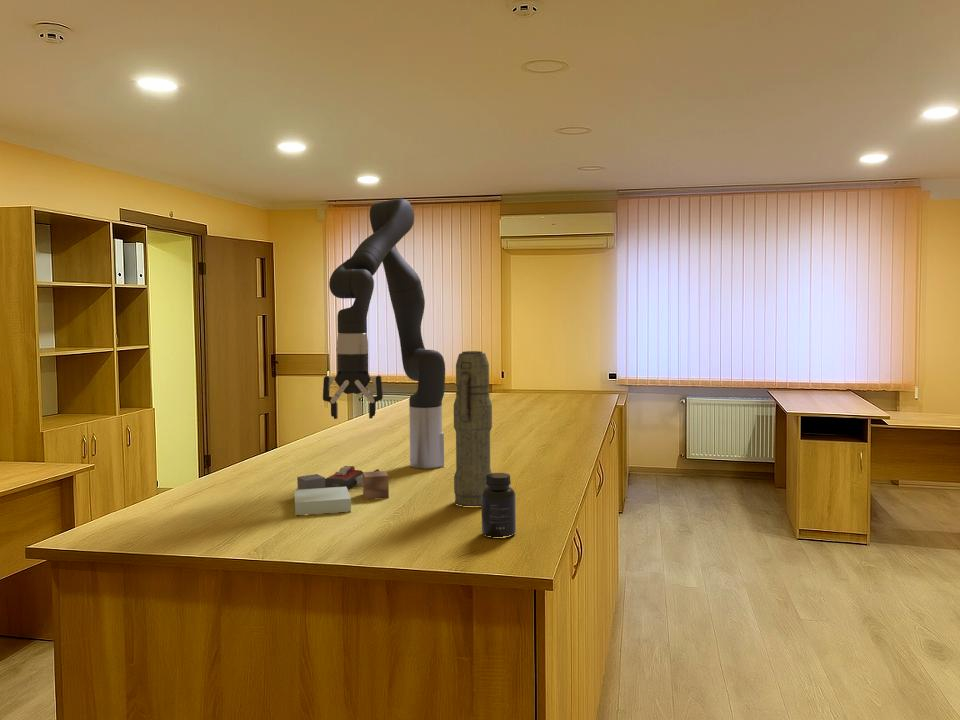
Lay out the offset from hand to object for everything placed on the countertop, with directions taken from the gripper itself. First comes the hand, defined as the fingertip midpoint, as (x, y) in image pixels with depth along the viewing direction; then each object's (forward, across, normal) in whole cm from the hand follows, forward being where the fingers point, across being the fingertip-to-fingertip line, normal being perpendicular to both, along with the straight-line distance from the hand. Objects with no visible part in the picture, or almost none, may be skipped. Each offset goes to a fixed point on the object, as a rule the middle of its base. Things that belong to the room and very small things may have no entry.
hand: (353, 418), depth 187 cm
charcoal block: (+19, +10, +4) cm, 21 cm away
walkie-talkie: (+19, +2, -12) cm, 22 cm away
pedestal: (+18, +6, +13) cm, 23 cm away
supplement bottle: (+19, -32, +37) cm, 53 cm away
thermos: (+18, -29, +13) cm, 36 cm away
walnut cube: (+18, -6, +4) cm, 20 cm away
